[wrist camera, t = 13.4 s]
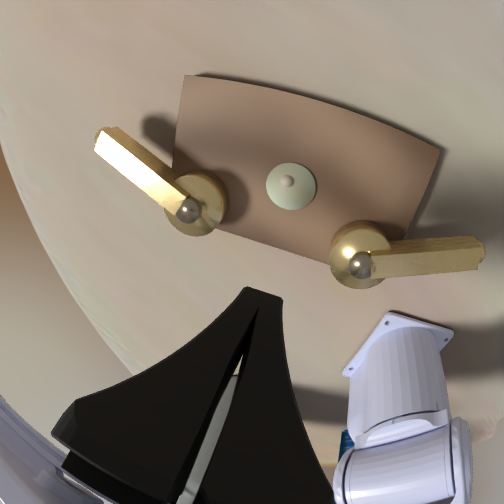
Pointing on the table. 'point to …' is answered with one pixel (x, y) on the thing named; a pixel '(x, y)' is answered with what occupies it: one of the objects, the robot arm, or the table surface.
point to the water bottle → (208, 445)
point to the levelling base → (299, 164)
